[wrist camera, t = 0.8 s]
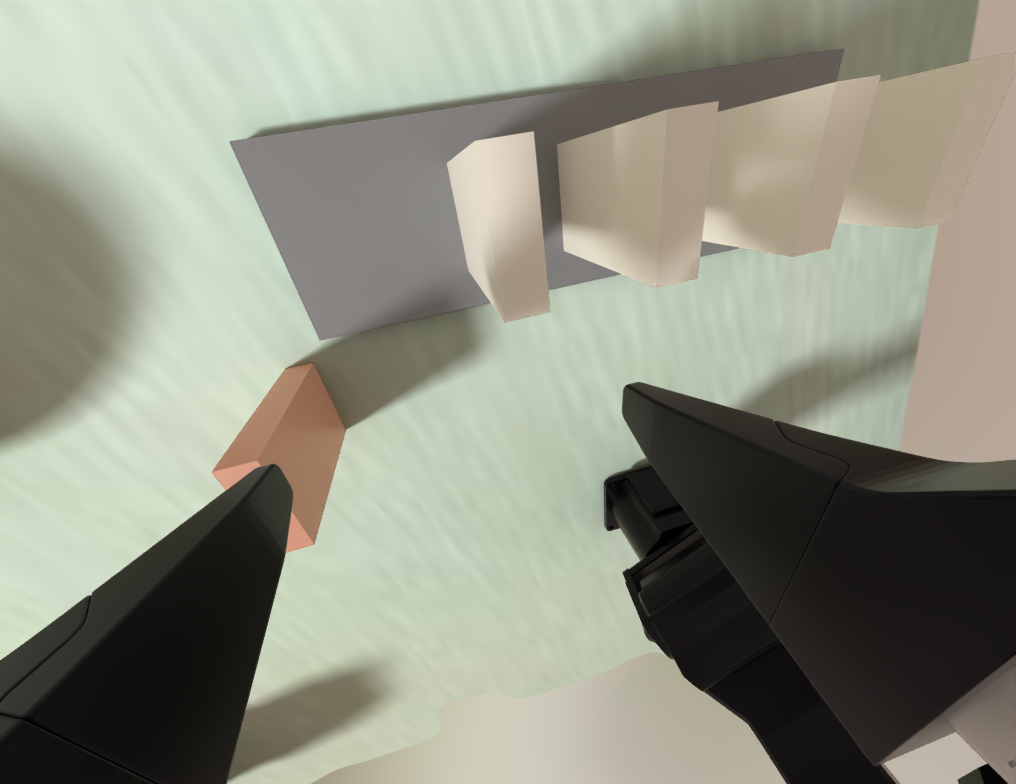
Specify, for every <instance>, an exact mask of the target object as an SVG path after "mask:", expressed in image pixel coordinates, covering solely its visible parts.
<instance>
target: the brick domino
mask: <svg viewBox="0 0 1016 784" xmlns="http://www.w3.org/2000/svg"><path fill="white" fill-rule="evenodd" d="M345 432H346V429H345V427H344V425H343V422H342V420H341V418H340V416H339V414H338V412H337V410H336V408H335V406H334V404H333V402H332V400H331V398H330V396H329V393H328V391H327V389H326V387H325V385H324V383H323V381H322V379H321V377H320V375H319V373H318V371H317V369H316V366H315V364H314V362H313V363H309V364H304V365H300V366H295V367H291V368H287V369H285V370H284V371H283V373H282V374H281V375H280V377H279V378H278V380H277V381H276V382H275V384H274V385H273V387H272V388H271V389H270V391H269V392H268V394H267V395H266V396H265V398H264V399H263V401H262V402H261V404H260V405H259V406H258V408H257V409H256V411H255V412H254V413H253V415H252V416H251V418H250V419H249V420H248V422H247V423H246V425H245V426H244V427H243V429H242V430H241V432H240V433H239V434H238V436H237V437H236V439H235V440H234V441H233V443H232V444H231V446H230V447H229V448H228V450H227V451H226V453H225V454H224V455H223V457H222V458H221V460H220V461H219V462H218V464H217V465H216V467H215V468H214V469H213V471H212V473H213V475H214V476H215V477H216V479H217V480H218V481H219V482H220V484H221V485H222V486H223V487H224V489H225V490H227V489H229V488H230V487H231V486H233V485H234V484H235V483H237V482H238V481H239V480H241V479H242V478H243V477H244V476H246V475H247V474H248V473H250V472H251V471H252V470H254V469H255V468H257V467H260V466H265V465H269V464H277V465H278V466H279V467H280V468H281V470H282V472H283V473H284V475H285V477H286V478H287V480H288V482H289V484H290V485H291V487H292V490H293V504H292V512H291V519H290V526H289V534H288V541H287V548H286V553H287V552H290V551H294V550H297V549H301V548H304V547H308V546H311V545H314V544H315V540H316V537H317V533H318V529H319V526H320V522H321V518H322V515H323V511H324V508H325V504H326V500H327V497H328V493H329V490H330V486H331V482H332V479H333V475H334V472H335V468H336V464H337V461H338V457H339V454H340V450H341V446H342V443H343V439H344V435H345Z"/></svg>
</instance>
